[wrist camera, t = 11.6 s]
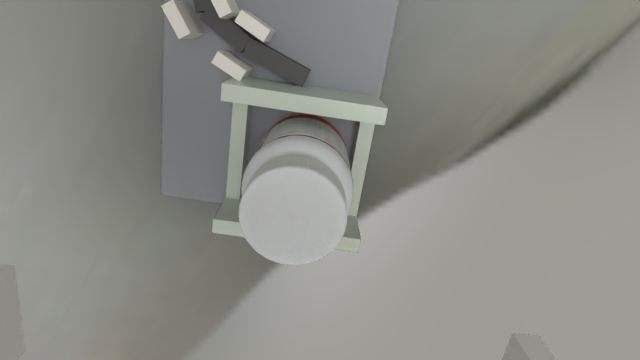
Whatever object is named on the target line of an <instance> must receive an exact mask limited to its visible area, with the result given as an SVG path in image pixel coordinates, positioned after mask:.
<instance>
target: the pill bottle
mask: <svg viewBox="0 0 640 360" xmlns="http://www.w3.org/2000/svg"><path fill="white" fill-rule="evenodd" d="M241 193H242V197H241V200H240V204H239V224H240V227H241V230H242V233H243V235H244V237H245V238H246V240H247V242H248V243H249V244H250V245H251V246H252V247H253V249H254V250H255V251H257V252H258V253H259V254H260V255H262V256H264V257H265V258H267V259H269V260H271V261H274V262H277V263H281V264H285V265H304V264H308V263H312V262H315V261H317V260H320V259H321V258H323V257H325V256H326V255H328V254H329V253H330V252H331V251H332V250H333V249H334V248H335V247H336V246H337V245H338V244H339V242H340V241H341V239H342V237H343V235H344V233H345V229H346V225H347V216H348V214H349V211H350V209H351V206H352V201H353V193H354V189H353V178H352V174H351V170H350V164H349V159H348V153H347V149H346V145H345V142H344V139H343V137H342V135H341V134H340V132H339V131H338V129H337V128H336V127H335V126H334V125H333V124H332V123H331V122H329V121H328V120H327V119H325V118H323V117H321V116H318V115H312V114H306V113H297V114H292V115H289V116H286V117H284V118H282V119H281V120H279V121H278V122H277V123H275V124H274V125H273V126H272V127H271V129H270V130H269V131H268V133H267V134H266V136H265V137H264V139H263V141H262V143H261V144H260V146H259V148H258V149H257V151H256V153H255V154H254V156H253V157H252V159H251V160H250V162H249V163H248V165H247V167H246V169H245V172H244V175H243V179H242V186H241Z"/></svg>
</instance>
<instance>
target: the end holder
mask: <svg viewBox="0 0 640 360" xmlns="http://www.w3.org/2000/svg"><path fill="white" fill-rule="evenodd" d="M221 101H226V102H233V108H232V121H231V135H230V148H229V161H228V175H227V188H226V198H225V200H224V202H223V203H222V205H221V207H220V208H219V210H218V212H217V213H216V215H215V217H214V218H213V228H212V233H218V234H225V235H232V236H240V237H244V235H243V233H242V230H241V227H240V224H239V204H240V200H241V197H242V193H241V186H242V179H243V175H244V172H245V169H246V159H247V148H248V137H249V126H250V115H251V105H253V106H260V107H266V108H273V109H279V110H286V111H293V112H299V113H306V114H312V115H319V116H326V117H332V118H339V119H345V120H352V121H358V124H357V129H356V134H355V140H354V145H353V151H352V156H351V162H350V170H351V174H352V178H353V189H354V193H353V201H352V206H351V209H350V211H349V214H348V216H347V225H346V229H345V233H344V235H343V237H342V239H341V241H340V242H339V244H338V245H337V246H336V247H335V248H334V250H342V251H349V252H356V253H358V250H359V245H360V240H361V239H360V233H359V228H358V221H357V212H358V207H359V202H360V197H361V192H362V187H363V182H364V177H365V172H366V167H367V162H368V157H369V152H370V147H371V142H372V137H373V132H374V127H375V124H379V125H385V121H386V116H387V111H388V108H387V107H386V106H385V104H384V103H383V102H382V101H381V100H380V99H379V98H378V96H373V95H367V94H360V93H354V92H347V91H341V90H334V89H328V88H321V87H315V86H309V85H303V87H300V86H298V85H296V84H294V83H289V82H283V81H276V80H270V79H263V78H257V77H250V76H248V77H247V78H245V79H243V80H241V81H238V80H236V79H235V78H232V79H229V80H227V81H225V82H223V83H222V87H221Z"/></svg>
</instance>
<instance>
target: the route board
mask: <svg viewBox="0 0 640 360" xmlns="http://www.w3.org/2000/svg"><path fill="white" fill-rule="evenodd" d="M398 4H399V0H164V4H163V5H161V7H162V9H163V11H164V36H163V105H162V174H161V195H163V196H171V197H178V198H185V199H192V200H199V201H206V202H213V203H220V204H222V203H223V202H224V200H225V198H226V188H227V175H228V161H229V148H230V135H231V121H232V108H233V102H226V101H221V87H222V83H223V82H225V81H227V80H229V79H232V78H235V79H236V80H238V81H241V80H243V79H245V78H247V77H248V76H250V77H257V78H263V79H270V80H276V81H283V82H289V83H294V84H296V85H298V86H300V87H303V85H309V86H315V87H321V88H328V89H334V90H341V91H347V92H354V93H360V94H367V95H373V96H378V98H379V99H380V94H381V89H382V84H383V79H384V74H385V69H386V64H387V59H388V54H389V49H390V44H391V39H392V34H393V29H394V24H395V19H396V14H397V9H398ZM297 113H299V112H293V111H286V110H279V109H273V108H266V107H260V106H253V105H251V115H250V126H249V137H248V148H247V159H246V167H247V165H248V163H249V162H250V160H251V159H252V157H253V156H254V154H255V153H256V151H257V149H258V148H259V146H260V144H261V143H262V141H263V139H264V137H265V136H266V134H267V133H268V131H269V130H270V129H271V127H272V126H273V125H274V124H275V123H277V122H278V121H279V120H281V119H282V118H284V117H286V116H289V115H292V114H297ZM318 116H319V115H318ZM321 117H323V118H325V119H327V120H328V121H329V122H331V123H332V124H333V125H334V126H335V127H336V128H337V129H338V131H339V132H340V134H341V135H342V137H343V139H344V142H345V145H346V149H347V153H348V159H349V164H350V162H351V156H352V151H353V145H354V140H355V134H356V129H357V124H358V121H352V120H345V119H339V118H332V117H326V116H321Z"/></svg>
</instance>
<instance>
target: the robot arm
mask: <svg viewBox="0 0 640 360" xmlns="http://www.w3.org/2000/svg"><path fill="white" fill-rule="evenodd" d="M25 351H26V349H25V341H24V334H23V326H22V318H21V311H20V303H19V296H18V288H17V281H16V273H15V266H9V265H1V264H0V360H17V359H18V358H19V357H20V356H21V355H22V354H23V353H24V352H25ZM502 360H557V359H556V357H555V356H554V355H553V353H552V352H551V350H550V349H549V348H548V346H547V345H546V344H545V342H544V341H543V339H542V338H541V337H540V336H535V335H527V334H520V333H512V336H511V338H510V341H509V344H508V346H507V349H506V351H505V354H504V356H503V359H502Z"/></svg>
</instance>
